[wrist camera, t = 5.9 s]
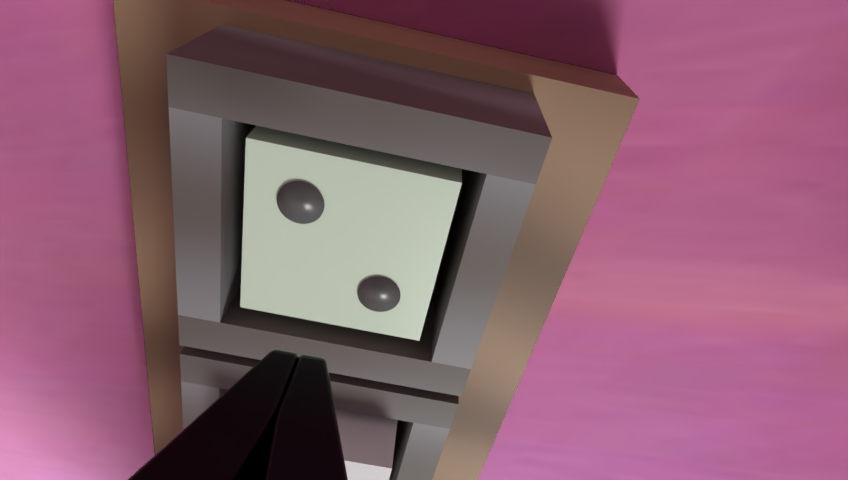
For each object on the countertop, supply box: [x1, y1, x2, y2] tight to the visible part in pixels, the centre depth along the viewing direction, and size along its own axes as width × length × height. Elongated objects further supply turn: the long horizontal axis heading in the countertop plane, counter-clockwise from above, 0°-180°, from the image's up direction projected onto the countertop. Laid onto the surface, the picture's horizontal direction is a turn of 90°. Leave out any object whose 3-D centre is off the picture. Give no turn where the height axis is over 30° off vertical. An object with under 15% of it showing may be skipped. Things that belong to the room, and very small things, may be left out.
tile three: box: [335, 409, 397, 480], centre depth 16 cm, size 4×4×2 cm
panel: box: [113, 0, 639, 480], centre depth 18 cm, size 23×12×5 cm, turn 168°
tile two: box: [240, 126, 462, 341], centre depth 13 cm, size 4×4×2 cm
